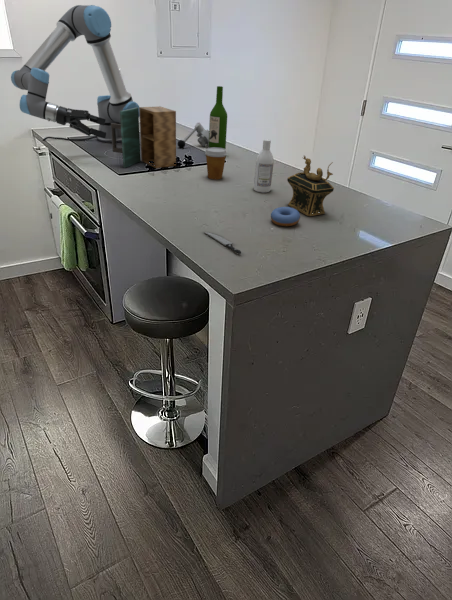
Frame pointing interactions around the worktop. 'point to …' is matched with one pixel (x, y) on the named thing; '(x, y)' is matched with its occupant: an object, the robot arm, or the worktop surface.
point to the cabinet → (158, 136)
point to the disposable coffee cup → (215, 162)
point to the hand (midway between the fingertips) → (105, 129)
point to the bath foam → (264, 168)
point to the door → (128, 136)
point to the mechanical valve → (200, 133)
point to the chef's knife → (223, 242)
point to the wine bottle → (218, 122)
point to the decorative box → (309, 190)
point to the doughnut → (285, 216)
